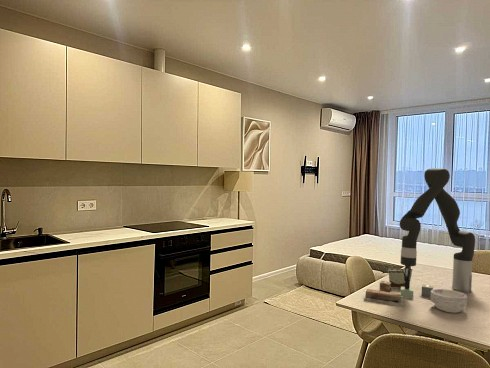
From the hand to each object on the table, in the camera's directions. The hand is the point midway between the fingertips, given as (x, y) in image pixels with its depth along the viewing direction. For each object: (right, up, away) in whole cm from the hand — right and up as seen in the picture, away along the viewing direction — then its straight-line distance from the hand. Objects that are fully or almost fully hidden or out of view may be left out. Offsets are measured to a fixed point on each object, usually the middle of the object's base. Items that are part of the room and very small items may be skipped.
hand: (407, 288), depth 188 cm
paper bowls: (+11, -5, -18) cm, 22 cm away
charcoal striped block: (+12, -5, +2) cm, 13 cm away
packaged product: (-16, -4, -9) cm, 19 cm away
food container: (+2, -4, +17) cm, 18 cm away
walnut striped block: (-9, -4, +7) cm, 12 cm away
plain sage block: (0, -4, 0) cm, 4 cm away
